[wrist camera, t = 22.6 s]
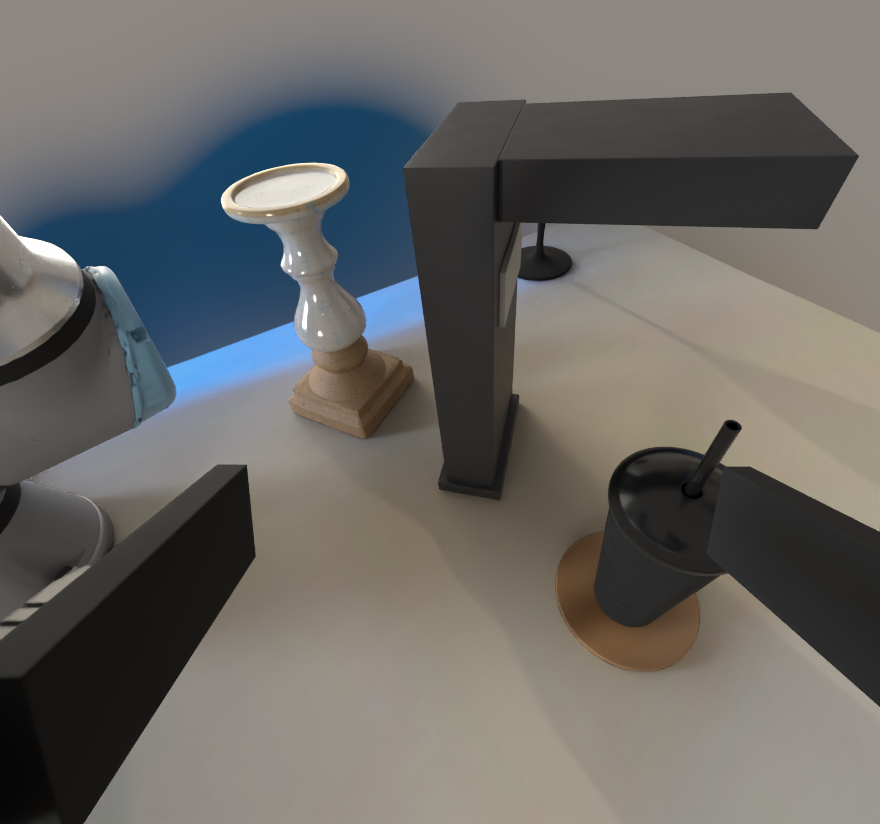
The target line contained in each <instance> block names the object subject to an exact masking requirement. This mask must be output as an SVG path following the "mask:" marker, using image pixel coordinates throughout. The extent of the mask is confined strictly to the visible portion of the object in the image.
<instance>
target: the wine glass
mask: <svg viewBox="0 0 880 824" xmlns="http://www.w3.org/2000/svg"><path fill="white" fill-rule="evenodd" d="M544 230H545V223H538V234H537V244H536V246H530V247H525V248H521V263H520V270H519V273H518V277H519V278H522V279H527V280H536V281H541V280H550V279H554V278H557V277H560V276H562V275H564V274H565V273H567V272H568V271H569V270H570V268H571V265H572V260H571V258H570V256H569V255H568V254H567V253H565V252H564V251H562V250H560V249H557V248H554V247H548V246H543V239H544Z"/></svg>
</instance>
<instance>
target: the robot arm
mask: <svg viewBox="0 0 880 824" xmlns="http://www.w3.org/2000/svg"><path fill="white" fill-rule="evenodd" d="M175 396H176V387H175V384H174V381H173V379H172V377H171V375H170V373H169V371H168V369H167V367H166V365H165V364H164V362H163V360H162V358H161V356H160V354H159V352H158V351H157V349H156V347H155V345H154V343H153V342H152V340H151V338H150V337H149V335H148V333H147V332H146V329H145V327H144V325H143V324H142V322H141V320H140V318H139V316H138V314H137V312H136V310H135V309H134V307H133V305H132V303H131V301H130V300H129V298H128V296H127V294H126V293H125V291H124V289H123V288H122V286H121V284H120V282H119V281H118V279H117V278H116V276H115V274H114V273H113V271H112V270H110V269H109V268H107V267H104V266H99V267H86V268H85V269H81V268H80V267H79V266H78V264H77V263H76V262H75V261H74V260H73V259H72V258H71V257H70V256H69V255H68V254H67V253H66V252H64V251H63V250H62V249H60V248H58V247H56V246H54V245H52V244H50V243H46V242H43V241H40V240H35V239H30V238H25V237H19V236H18V235H17V234H16V233H15V232H14V230H13V229H12V228H11V227H10V226H9V225H8V224H7V223H6V222H5V220H4V219H3V218H2V217H1V216H0V824H84V822H85V821H86V819H87V817H88V816H89V814H90V813H91V811H92V810H93V808H94V807H95V805H96V804H97V802H98V800H99V799H100V797H101V796H102V794H103V793H104V791H105V790H106V788H107V786H108V785H109V783H110V782H111V780H112V779H113V777H114V776H115V774H116V772H117V771H118V769H119V768H120V766H121V765H122V763H123V762H124V760H125V758H126V757H127V755H128V754H129V752H130V751H131V749H132V748H133V746H134V744H135V743H136V741H137V740H138V738H139V737H140V735H141V734H142V732H143V731H144V729H145V727H146V726H147V724H148V723H149V721H150V720H151V718H152V717H153V715H154V713H155V712H156V710H157V709H158V707H159V706H160V704H161V703H162V701H163V699H164V698H165V696H166V695H167V693H168V692H169V690H170V689H171V687H172V685H173V684H174V682H175V681H176V679H177V678H178V676H179V675H180V673H181V672H182V670H183V668H184V667H185V665H186V664H187V662H188V661H189V659H190V658H191V656H192V654H193V653H194V651H195V650H196V648H197V647H198V645H199V644H200V642H201V640H202V639H203V637H204V636H205V634H206V633H207V631H208V630H209V628H210V626H211V625H212V623H213V622H214V620H215V619H216V617H217V616H218V614H219V612H220V611H221V609H222V608H223V606H224V605H225V603H226V602H227V600H228V599H229V597H230V595H231V594H232V592H233V591H234V589H235V588H236V586H237V585H238V583H239V581H240V580H241V578H242V577H243V575H244V574H245V572H246V571H247V569H248V567H249V566H250V564H251V563H252V561H253V560H254V558H255V557H256V555H255V545H254V535H253V524H252V514H251V504H250V494H249V483H248V473H247V465H216V466H215V467H214V468H212V469H211V470H210V471H209V472H207V473H206V474H205V475H204V476H203V477H201V478H200V479H199V480H198V481H196V482H195V483H194V484H193V485H191V486H190V487H189V488H188V489H186V490H185V491H184V492H183V493H181V494H180V495H179V496H178V497H176V498H175V499H174V500H173V501H172V502H170V503H169V504H168V505H167V506H165V507H164V508H163V509H162V510H160V511H159V512H158V513H157V514H155V515H154V516H153V517H152V518H150V519H149V520H148V521H147V522H146V523H144V524H143V525H142V526H141V527H139V528H138V529H137V530H136V531H134V532H133V533H132V534H131V535H129V536H128V537H127V538H126V539H124V540H123V541H122V542H121V543H120V544H118V545H117V546H116V547H115V548H113V549H112V550H111V548H112V542H113V527H112V523H111V521H110V518H109V517H108V515H107V514H106V513H105V512H104V511H103V510H102V509H101V508H100V507H98V506H97V505H96V504H94V503H93V502H92V501H90V500H89V499H87V498H85V497H83V496H81V495H78V494H74V493H70V492H64V491H61V490H58V489H55V488H51V487H48V486H44V485H41V484H37V483H33V482H30V481H26V480H25V479H28V478H30V477H32V476H34V475H36V474H38V473H40V472H42V471H44V470H46V469H48V468H51V467H53V466H55V465H57V464H59V463H61V462H63V461H65V460H67V459H69V458H72V457H74V456H76V455H78V454H80V453H82V452H84V451H86V450H88V449H90V448H92V447H95V446H97V445H99V444H101V443H103V442H105V441H107V440H109V439H111V438H113V437H116V436H118V435H120V434H122V433H124V432H126V431H128V430H130V429H133V428H136V427H138V426H139V425H140V424H141V423H142V422H143V421H145V420H147V419H148V418H150V417H152V416H154V415H155V414H157V413H159V412H161V411H162V410H164V409H166V408H167V407H169V406H170V405H171V404H172V402H173V401H174V399H175ZM706 554H707V555H708V556H710V557H711V558H712V559H713V560H714V561H715V562H716V563H718V564H719V565H720V566H721V567H722V568H723V569H724V570H725V571H727V572H728V573H729V574H730V575H731V576H732V577H733V578H735V579H736V580H737V581H738V582H739V583H740V584H741V585H742V586H744V587H745V588H746V589H747V590H748V591H749V592H750V593H752V594H753V595H754V596H755V597H756V598H757V599H758V600H759V601H761V602H762V603H763V604H764V605H765V606H766V607H767V608H768V609H770V610H771V611H772V612H773V613H774V614H775V615H776V616H778V617H779V618H780V619H781V620H782V621H783V622H784V623H785V624H787V625H788V626H789V627H790V628H791V629H792V630H793V631H795V632H796V633H797V634H798V635H799V636H800V637H801V638H802V639H804V640H805V641H806V642H807V643H808V644H809V645H810V646H812V647H813V648H814V649H815V650H816V651H817V652H818V653H819V654H821V655H822V656H823V657H824V658H825V659H826V660H827V661H828V662H830V663H831V664H832V665H833V666H834V667H835V668H836V669H838V670H839V671H840V672H841V673H842V674H843V675H844V676H845V677H847V678H848V679H849V680H850V681H851V682H852V683H853V684H855V685H856V686H857V687H858V688H859V689H860V690H861V691H862V692H864V693H865V694H866V695H867V696H868V697H869V698H870V699H872V700H873V701H874V702H875V703H876V704H877V705H878V706H879V707H880V532H879V531H877V530H875V529H873V528H871V527H869V526H867V525H865V524H863V523H861V522H859V521H857V520H855V519H853V518H851V517H849V516H847V515H845V514H843V513H841V512H839V511H837V510H835V509H833V508H831V507H829V506H827V505H825V504H823V503H821V502H819V501H817V500H815V499H813V498H811V497H809V496H807V495H805V494H803V493H801V492H799V491H797V490H795V489H793V488H791V487H789V486H787V485H785V484H783V483H781V482H779V481H777V480H775V479H773V478H771V477H769V476H767V475H765V474H763V473H761V472H759V471H757V470H755V469H753V468H751V467H724V468H723V473H722V478H721V483H720V488H719V493H718V498H717V503H716V508H715V513H714V518H713V523H712V528H711V533H710V538H709V543H708V548H707V553H706Z"/></svg>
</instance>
